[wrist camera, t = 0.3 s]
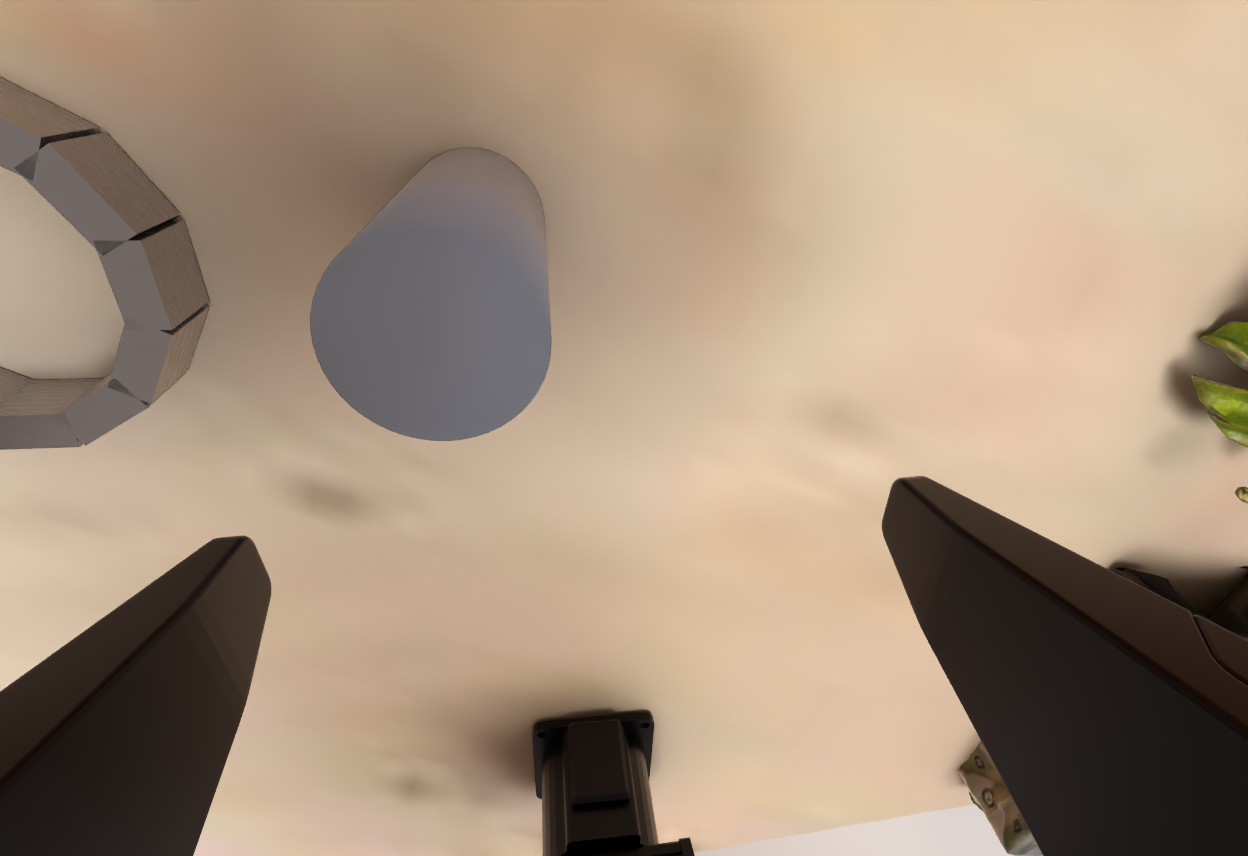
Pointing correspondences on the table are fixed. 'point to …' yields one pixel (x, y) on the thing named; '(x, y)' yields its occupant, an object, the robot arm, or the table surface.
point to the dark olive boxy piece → (1238, 614)
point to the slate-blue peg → (441, 302)
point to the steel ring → (132, 259)
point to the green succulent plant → (1228, 388)
